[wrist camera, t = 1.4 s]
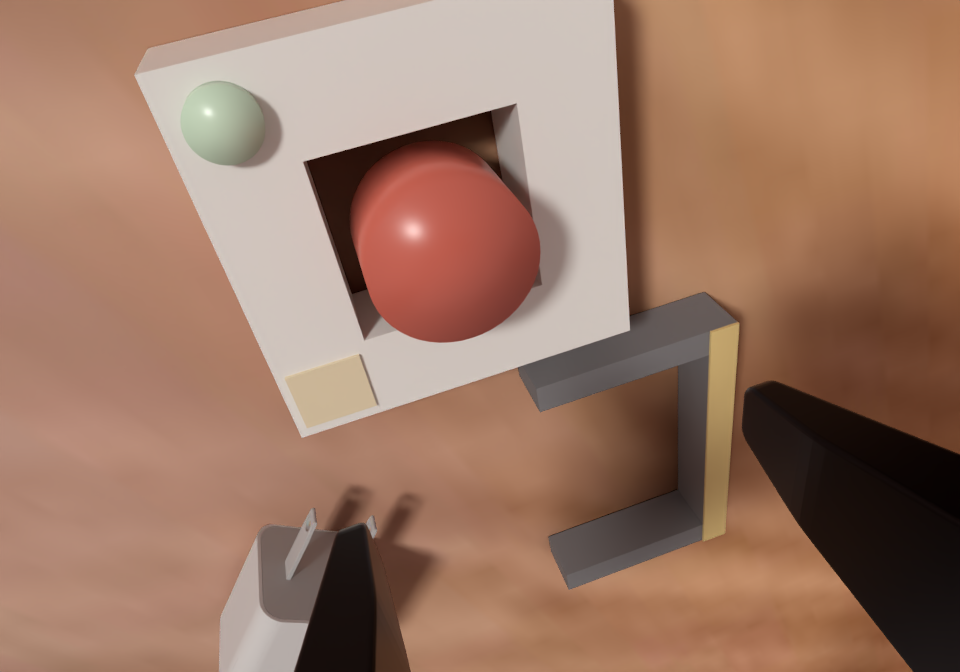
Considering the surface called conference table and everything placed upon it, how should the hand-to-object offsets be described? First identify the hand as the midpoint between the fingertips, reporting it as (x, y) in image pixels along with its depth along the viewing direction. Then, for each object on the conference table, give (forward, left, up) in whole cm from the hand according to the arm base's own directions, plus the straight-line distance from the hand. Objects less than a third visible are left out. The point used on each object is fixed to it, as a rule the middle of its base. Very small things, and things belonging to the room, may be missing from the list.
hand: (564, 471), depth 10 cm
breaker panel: (0, 0, -11) cm, 11 cm away
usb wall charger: (-12, +7, -11) cm, 18 cm away
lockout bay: (-12, -5, -11) cm, 17 cm away
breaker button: (0, 0, -9) cm, 9 cm away
